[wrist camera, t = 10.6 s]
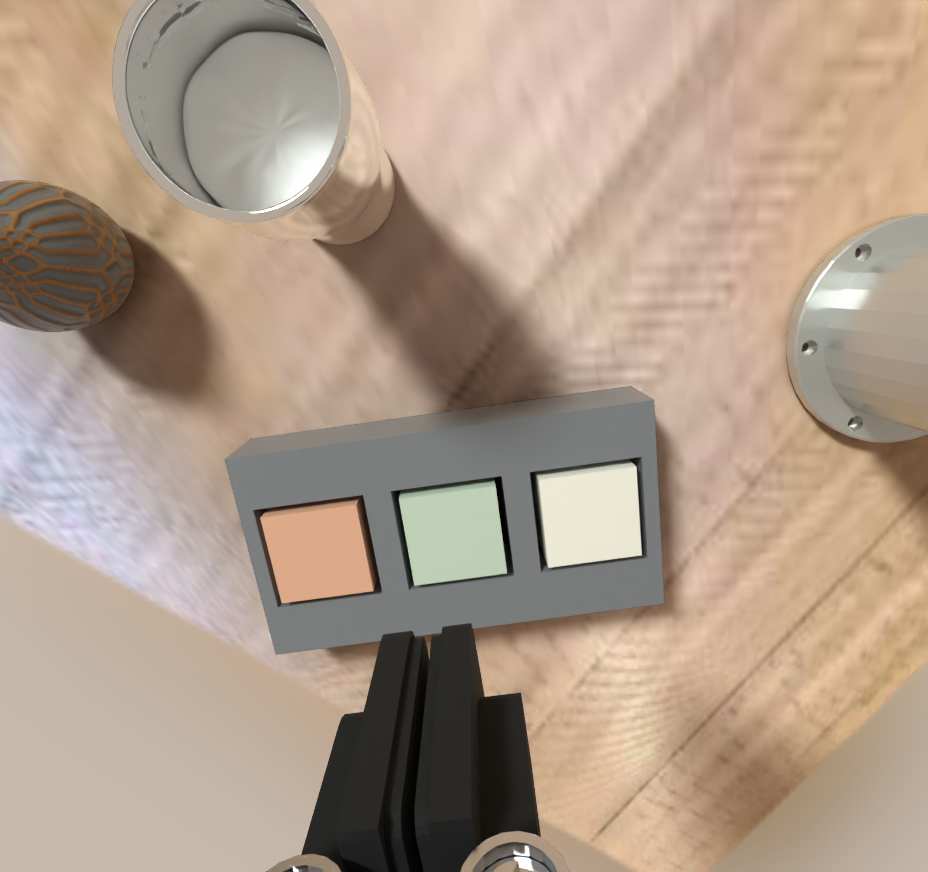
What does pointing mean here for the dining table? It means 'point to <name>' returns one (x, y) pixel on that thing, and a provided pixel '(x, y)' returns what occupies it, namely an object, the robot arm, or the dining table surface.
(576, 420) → the button panel
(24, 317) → the vase
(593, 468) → the cream button
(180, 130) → the beer glass
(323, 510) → the terracotta button
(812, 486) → the dining table surface
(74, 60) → the dining table surface
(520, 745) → the robot arm
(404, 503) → the sage button
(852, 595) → the dining table surface
